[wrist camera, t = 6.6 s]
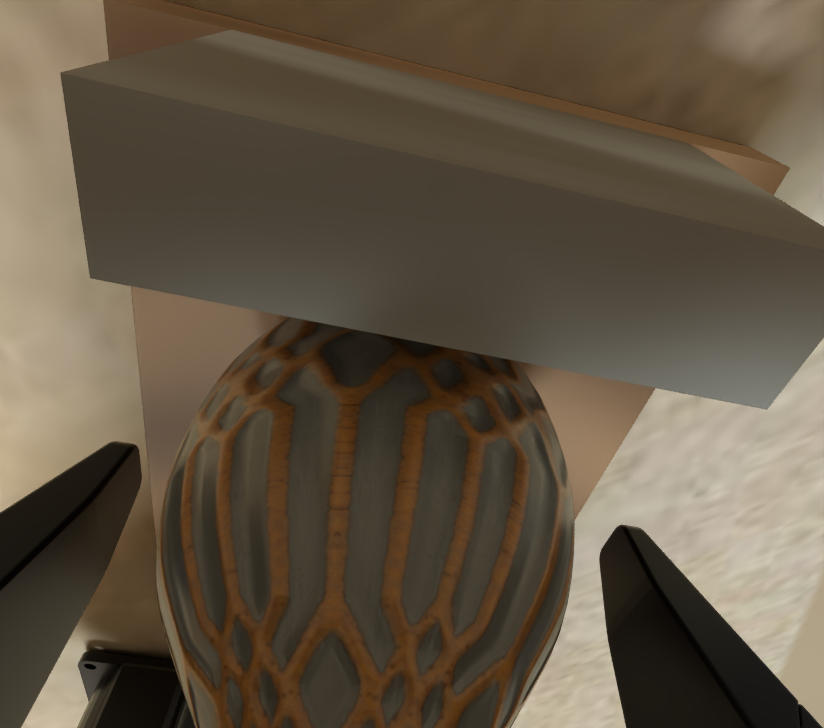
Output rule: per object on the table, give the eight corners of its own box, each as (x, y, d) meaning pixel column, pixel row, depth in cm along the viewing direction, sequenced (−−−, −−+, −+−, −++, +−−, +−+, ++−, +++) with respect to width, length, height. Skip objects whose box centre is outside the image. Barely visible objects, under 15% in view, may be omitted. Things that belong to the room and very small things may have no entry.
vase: (549, 236, 11) (793, 770, 3) (525, 480, 15) (613, 962, 7) (206, 249, 11) (-224, 751, 4) (273, 482, 15) (126, 944, 8)
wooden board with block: (475, 639, 22) (490, 843, 17) (180, 599, 21) (97, 806, 16) (749, 147, 11) (1050, 301, 6) (143, -5, 10) (-193, 14, 4)
